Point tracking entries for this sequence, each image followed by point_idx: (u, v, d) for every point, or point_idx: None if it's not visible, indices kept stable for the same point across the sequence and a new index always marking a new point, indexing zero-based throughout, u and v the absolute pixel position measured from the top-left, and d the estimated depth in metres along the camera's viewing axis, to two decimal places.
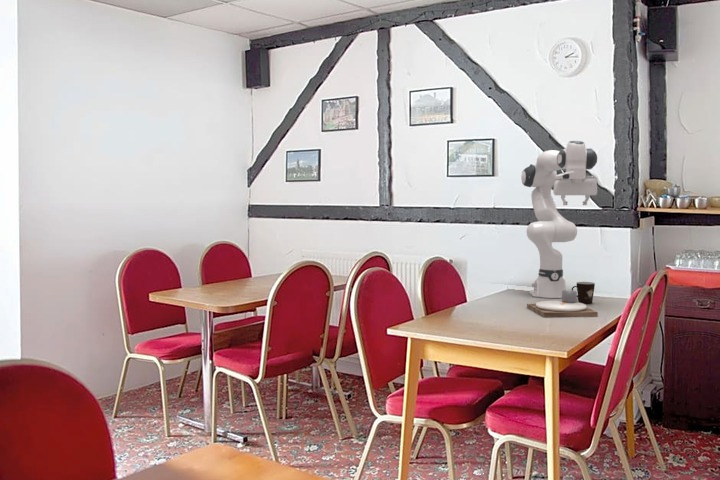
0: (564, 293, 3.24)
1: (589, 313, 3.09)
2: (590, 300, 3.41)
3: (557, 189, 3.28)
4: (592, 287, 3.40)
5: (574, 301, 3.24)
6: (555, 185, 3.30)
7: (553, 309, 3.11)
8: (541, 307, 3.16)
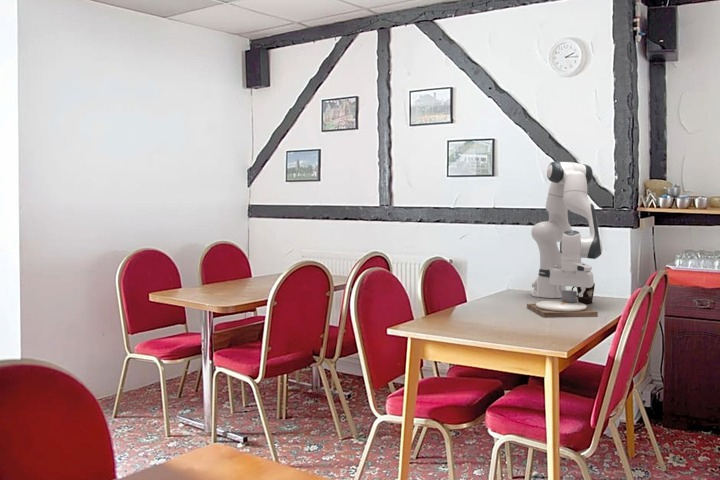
0: (564, 293, 3.24)
1: (589, 313, 3.09)
2: (590, 300, 3.41)
3: None
4: (592, 287, 3.40)
5: (574, 301, 3.24)
6: (592, 277, 3.20)
7: (553, 309, 3.11)
8: (541, 307, 3.16)
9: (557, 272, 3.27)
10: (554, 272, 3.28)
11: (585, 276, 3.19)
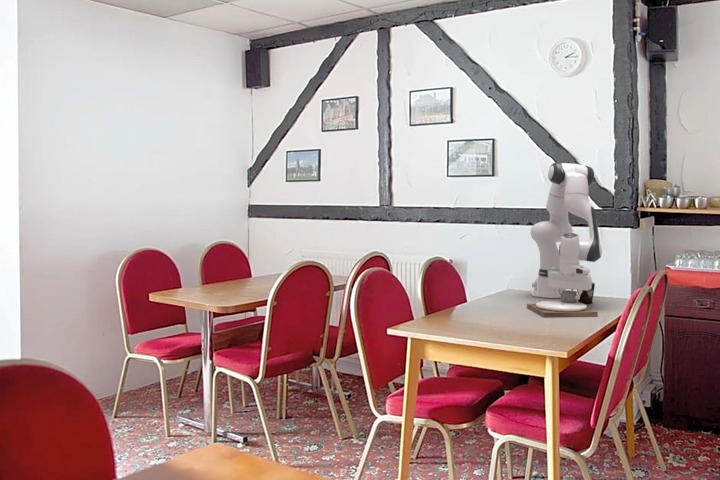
0: (564, 293, 3.24)
1: (589, 313, 3.09)
2: (590, 300, 3.41)
3: None
4: (592, 287, 3.40)
5: (574, 301, 3.24)
6: (590, 280, 3.20)
7: (553, 309, 3.11)
8: (541, 307, 3.16)
9: (555, 275, 3.28)
10: (553, 274, 3.28)
11: (584, 279, 3.19)
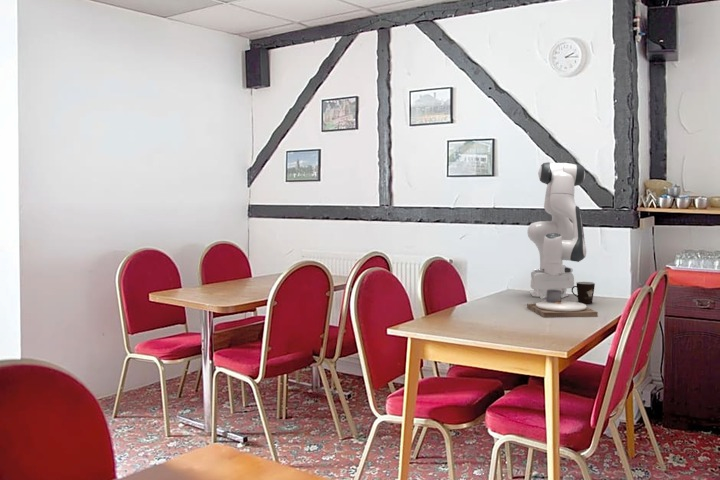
0: (554, 293, 3.25)
1: (589, 313, 3.09)
2: (590, 300, 3.41)
3: None
4: (592, 287, 3.40)
5: None
6: None
7: (574, 310, 3.09)
8: (560, 309, 3.10)
9: (542, 276, 3.25)
10: (539, 276, 3.24)
11: (569, 277, 3.27)
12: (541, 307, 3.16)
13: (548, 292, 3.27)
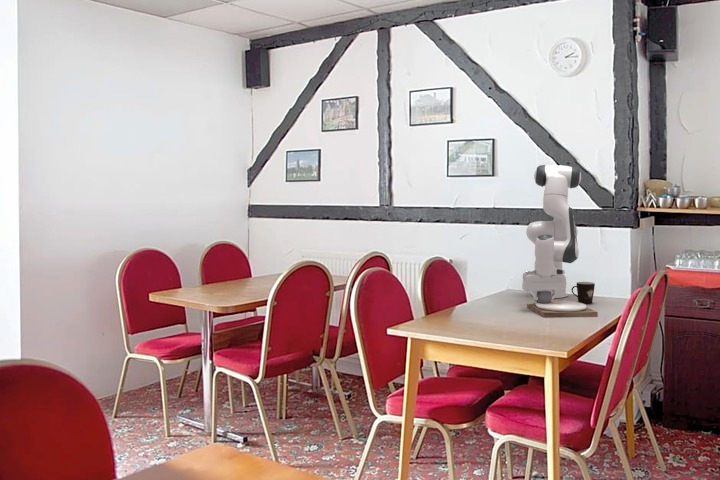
0: (549, 294, 3.22)
1: (589, 313, 3.09)
2: (590, 300, 3.41)
3: None
4: (592, 287, 3.40)
5: None
6: None
7: (585, 308, 3.14)
8: (577, 309, 3.10)
9: (533, 278, 3.21)
10: (531, 278, 3.21)
11: (561, 279, 3.23)
12: (557, 309, 3.10)
13: (543, 293, 3.22)
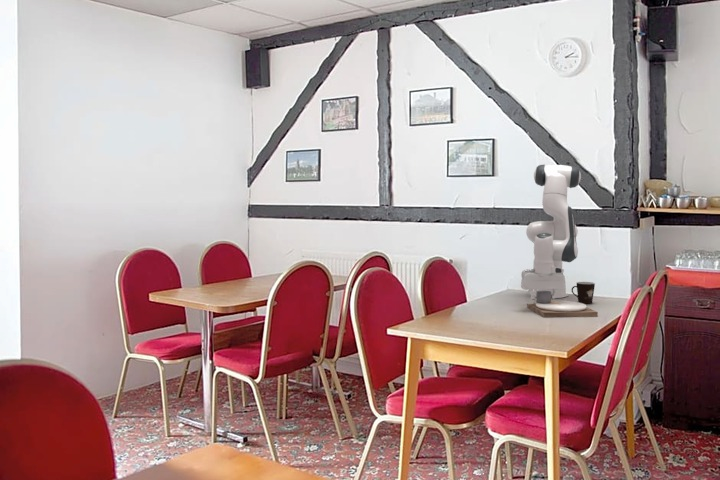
0: (549, 294, 3.22)
1: (589, 313, 3.09)
2: (590, 300, 3.41)
3: None
4: (592, 287, 3.40)
5: None
6: None
7: (585, 308, 3.14)
8: (578, 309, 3.10)
9: (532, 276, 3.21)
10: (530, 276, 3.21)
11: (560, 278, 3.23)
12: (558, 309, 3.10)
13: (543, 294, 3.22)
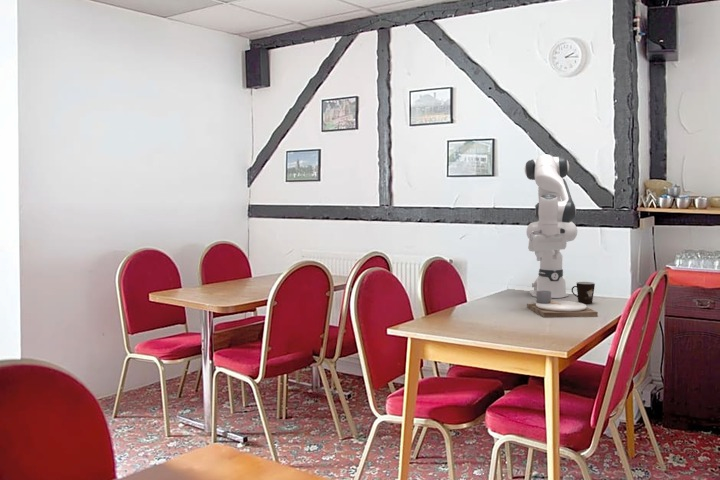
0: (549, 294, 3.22)
1: (589, 313, 3.09)
2: (590, 300, 3.41)
3: None
4: (592, 287, 3.40)
5: None
6: None
7: (585, 308, 3.14)
8: (578, 309, 3.10)
9: (540, 238, 3.20)
10: (538, 238, 3.19)
11: (563, 238, 3.26)
12: (558, 309, 3.10)
13: (543, 294, 3.22)
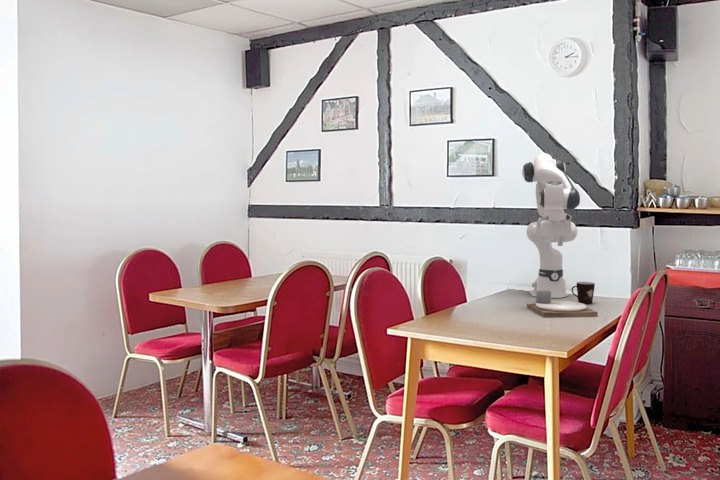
0: (549, 294, 3.22)
1: (589, 313, 3.09)
2: (590, 300, 3.41)
3: None
4: (592, 287, 3.40)
5: None
6: None
7: (585, 308, 3.14)
8: (578, 309, 3.10)
9: (548, 223, 3.21)
10: (546, 224, 3.21)
11: (568, 225, 3.29)
12: (558, 309, 3.10)
13: (543, 294, 3.22)
